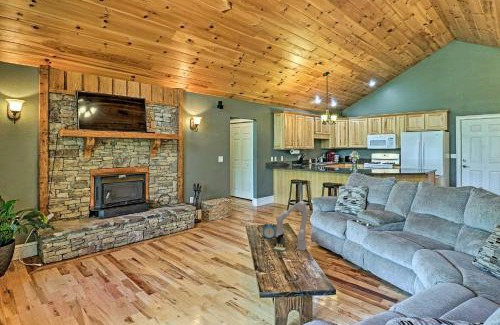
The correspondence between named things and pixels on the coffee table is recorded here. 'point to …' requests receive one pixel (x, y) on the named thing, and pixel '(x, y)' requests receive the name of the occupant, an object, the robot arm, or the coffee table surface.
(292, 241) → the coffee table surface
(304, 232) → the robot arm
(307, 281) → the coffee table surface
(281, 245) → the green and cream box
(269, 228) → the alarm clock
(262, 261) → the coffee table surface
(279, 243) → the block
